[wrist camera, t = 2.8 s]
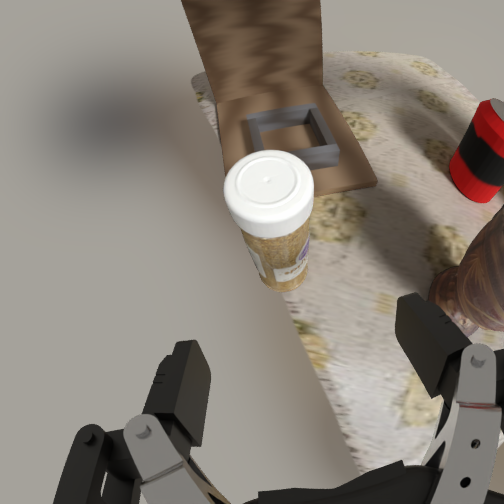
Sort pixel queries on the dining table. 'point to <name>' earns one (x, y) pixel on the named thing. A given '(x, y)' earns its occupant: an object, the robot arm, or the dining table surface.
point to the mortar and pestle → (475, 282)
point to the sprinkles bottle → (273, 214)
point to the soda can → (481, 154)
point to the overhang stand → (276, 87)
